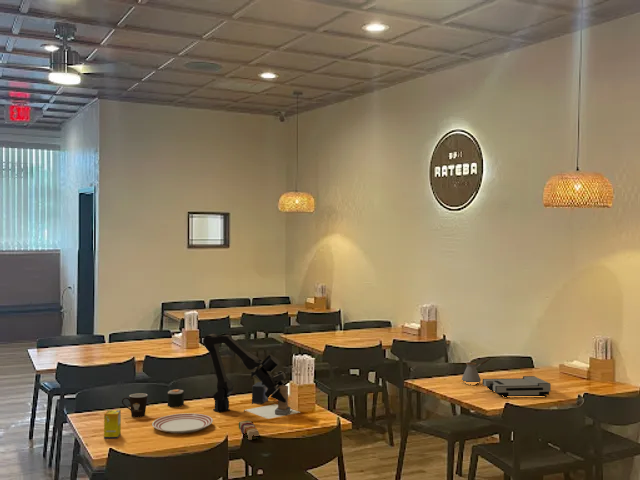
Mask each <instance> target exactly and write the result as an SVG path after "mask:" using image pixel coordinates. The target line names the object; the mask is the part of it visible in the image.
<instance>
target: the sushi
mask: <svg viewBox="0 0 640 480" xmlns="http://www.w3.org/2000/svg"><path fill="white" fill-rule="evenodd" d="M184 404H185V391H184V390H183V389H178V388H177V389H171V390H168V391H167V407H168V406H170V407H169V408H179V406H180V407H182V405H183V406H184Z"/></svg>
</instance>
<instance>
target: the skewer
mask: <svg viewBox="0 0 640 480" xmlns="http://www.w3.org/2000/svg"><path fill="white" fill-rule="evenodd" d="M238 429H239V430H240V433H241V434H243V433H244V434H245V433H247V435H248V438H247V439H248V440H249V441H253V440H252V436H253V435H254V436H259V435H260V434H259V430H258V427H256V425H255V424H254V423H253V422H252V421H251V420H242V421H239V422H238ZM244 434H243V435H244Z"/></svg>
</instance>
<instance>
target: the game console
mask: <svg viewBox="0 0 640 480" xmlns="http://www.w3.org/2000/svg"><path fill="white" fill-rule="evenodd" d="M551 384H552V383H550V382H548V381H546V380H543V379H541V378H539V377H538V376H534V375H529V376H528V375H523V376H522V378H521V377H520V378H519V377H518V378H516V377H515V378H513V377H512V378H482V385H483V386H484V387H486V388H487V389H488V388H489V389H488V390H490V391H491V390H493V391H495V392H496V393H495V392H494V393H495V394H497V396H498V395H499V396H500V395H503V396H504V397H507V396H546V397H547V395H550V392H551V387H552V385H551ZM493 391H492V392H493Z"/></svg>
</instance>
